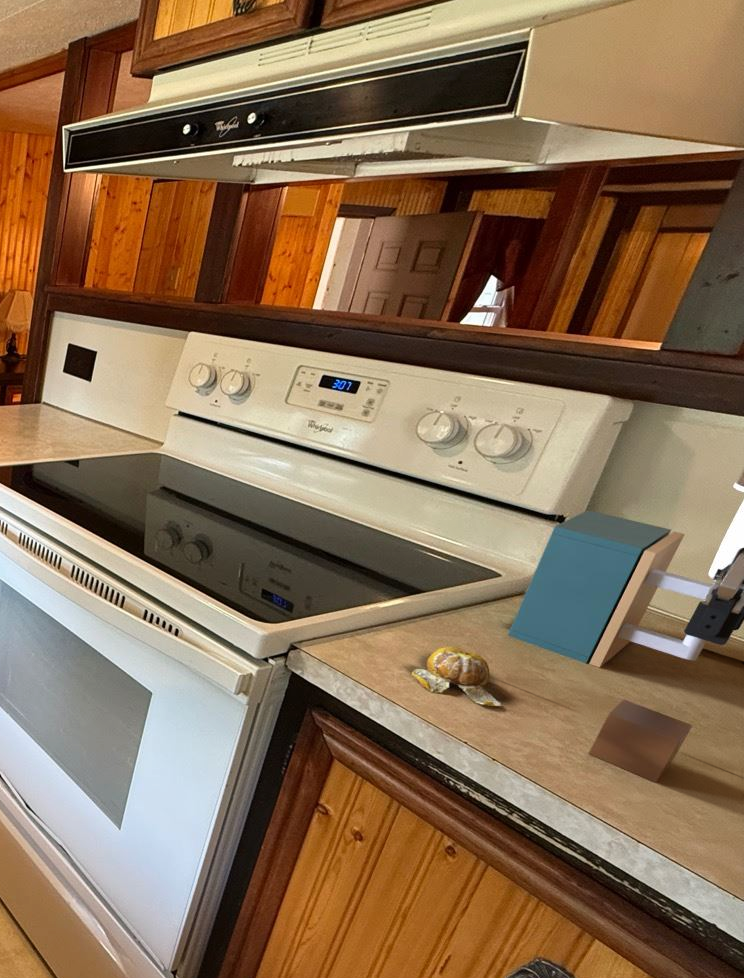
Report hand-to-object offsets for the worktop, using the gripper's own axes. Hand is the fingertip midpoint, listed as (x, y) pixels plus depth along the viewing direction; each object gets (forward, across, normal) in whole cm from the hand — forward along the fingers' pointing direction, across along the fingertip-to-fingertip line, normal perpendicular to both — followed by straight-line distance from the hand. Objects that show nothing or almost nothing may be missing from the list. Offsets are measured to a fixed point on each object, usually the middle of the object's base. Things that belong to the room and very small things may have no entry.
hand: (711, 630), depth 83 cm
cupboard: (+8, +4, +12) cm, 15 cm away
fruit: (+8, -24, +15) cm, 29 cm away
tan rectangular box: (+8, +4, +4) cm, 10 cm away
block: (+8, -24, -1) cm, 25 cm away
